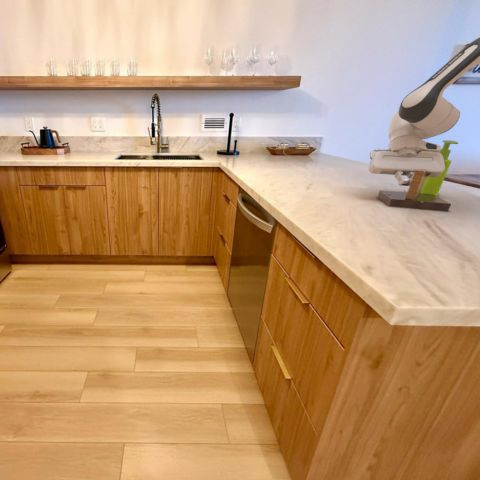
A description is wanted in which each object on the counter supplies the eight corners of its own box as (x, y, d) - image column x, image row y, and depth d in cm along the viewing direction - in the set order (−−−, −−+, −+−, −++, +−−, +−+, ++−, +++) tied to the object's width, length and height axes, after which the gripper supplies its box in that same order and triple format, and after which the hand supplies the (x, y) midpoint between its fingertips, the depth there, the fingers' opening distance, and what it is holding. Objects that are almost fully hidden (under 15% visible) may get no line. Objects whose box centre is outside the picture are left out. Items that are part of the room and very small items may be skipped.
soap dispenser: (424, 196, 109) (446, 141, 100) (414, 191, 115) (434, 139, 106) (442, 197, 107) (466, 141, 99) (431, 192, 113) (452, 139, 105)
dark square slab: (427, 201, 103) (431, 192, 102) (450, 214, 90) (454, 204, 89) (375, 196, 108) (378, 188, 107) (390, 208, 95) (393, 199, 94)
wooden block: (412, 192, 102) (422, 166, 98) (420, 194, 101) (430, 167, 97) (405, 198, 95) (415, 170, 92) (413, 200, 94) (424, 171, 90)
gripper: (373, 143, 100) (372, 177, 96) (446, 145, 94) (449, 182, 89) (366, 154, 106) (365, 187, 102) (434, 157, 99) (436, 192, 95)
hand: (405, 184), depth 95 cm, fingers closed
